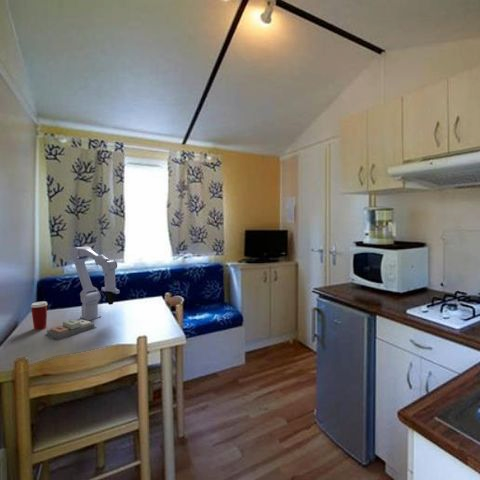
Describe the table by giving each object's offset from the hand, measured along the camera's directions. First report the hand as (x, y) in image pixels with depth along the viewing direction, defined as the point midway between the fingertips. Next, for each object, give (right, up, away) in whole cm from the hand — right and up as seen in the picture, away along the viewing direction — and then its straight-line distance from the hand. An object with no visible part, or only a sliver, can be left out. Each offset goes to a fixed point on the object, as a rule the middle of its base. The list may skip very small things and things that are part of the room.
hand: (110, 304), depth 167 cm
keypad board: (-15, -11, -14) cm, 23 cm away
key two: (-15, -9, -14) cm, 22 cm away
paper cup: (-35, -11, -9) cm, 38 cm away
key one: (-12, -10, -9) cm, 18 cm away
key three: (-18, -11, -19) cm, 28 cm away
